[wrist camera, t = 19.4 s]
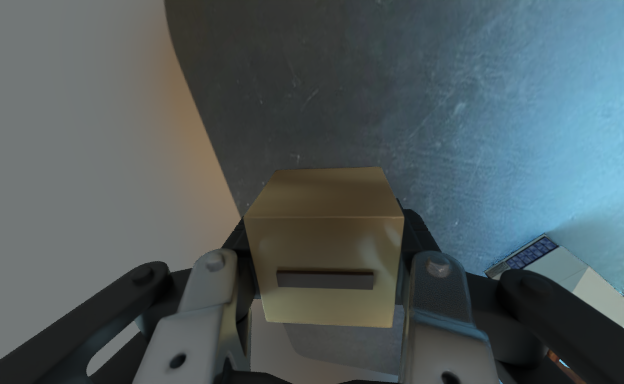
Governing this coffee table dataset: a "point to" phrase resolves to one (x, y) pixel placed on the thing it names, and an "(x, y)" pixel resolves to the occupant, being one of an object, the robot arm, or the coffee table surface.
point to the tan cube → (327, 246)
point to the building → (565, 275)
